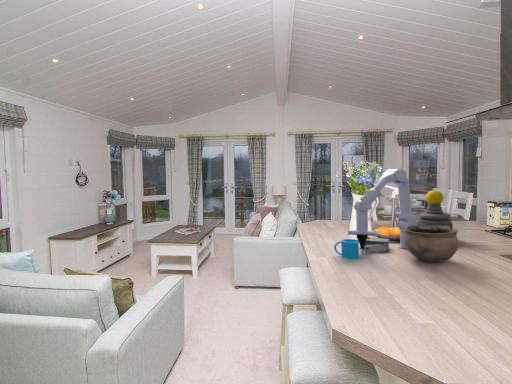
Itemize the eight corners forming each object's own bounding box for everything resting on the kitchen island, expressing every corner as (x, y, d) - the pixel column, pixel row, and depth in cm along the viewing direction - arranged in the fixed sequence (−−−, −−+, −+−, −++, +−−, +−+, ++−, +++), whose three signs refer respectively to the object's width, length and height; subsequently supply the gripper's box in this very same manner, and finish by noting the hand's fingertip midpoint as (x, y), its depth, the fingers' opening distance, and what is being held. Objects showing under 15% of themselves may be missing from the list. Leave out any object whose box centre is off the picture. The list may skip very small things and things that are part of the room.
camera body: (389, 247, 172) (389, 237, 172) (387, 251, 165) (387, 240, 164) (360, 245, 179) (360, 235, 178) (358, 248, 171) (358, 238, 171)
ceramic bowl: (467, 268, 133) (467, 233, 132) (412, 266, 138) (412, 232, 137) (446, 254, 155) (446, 224, 154) (399, 253, 159) (399, 224, 158)
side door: (387, 250, 165) (387, 243, 165) (388, 251, 163) (388, 244, 163) (364, 252, 163) (364, 245, 163) (365, 253, 161) (365, 245, 161)
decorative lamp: (409, 238, 193) (409, 190, 192) (433, 236, 199) (433, 188, 197) (435, 245, 175) (435, 191, 174) (460, 242, 181) (461, 190, 179)
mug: (360, 255, 157) (360, 239, 157) (356, 260, 150) (356, 243, 150) (336, 253, 163) (336, 237, 163) (332, 257, 156) (331, 241, 156)
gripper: (346, 223, 164) (346, 249, 165) (376, 225, 158) (376, 251, 159) (349, 221, 171) (349, 246, 171) (377, 222, 164) (377, 248, 165)
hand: (362, 248), depth 165 cm, fingers closed
